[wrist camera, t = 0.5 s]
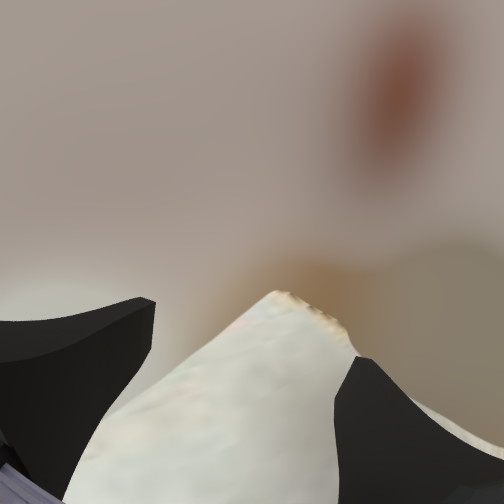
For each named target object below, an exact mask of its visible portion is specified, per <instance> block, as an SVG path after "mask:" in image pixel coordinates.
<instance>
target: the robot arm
mask: <svg viewBox="0 0 504 504" xmlns="http://www.w3.org/2000/svg"><path fill="white" fill-rule="evenodd" d="M155 305H156V302H154V301H151V300H148V299H145V298H143V297H138V298H133V299H129V300H126V301H123V302H119V303H116V304H113V305H110V306H106V307H103V308H100V309H96V310H92V311H88V312H84V313H80V314H76V315H73V316H67V317H61V318H55V319H47V320H36V321H0V504H65V503H64V502H62V500H63V497H64V495H65V492H66V490H67V487H68V485H69V482H70V480H71V477H72V475H73V473H74V471H75V468H76V466H77V464H78V462H79V460H80V458H81V456H82V454H83V452H84V450H85V448H86V446H87V444H88V442H89V440H90V439H91V437H92V435H93V433H94V431H95V430H96V428H97V426H98V425H99V423H100V421H101V419H102V418H103V416H104V415H105V413H106V412H107V410H108V409H109V407H110V406H111V405H112V404H113V402H114V401H115V400H116V399H117V397H118V396H119V395H120V394H121V392H122V391H123V390H124V388H125V387H126V386H127V385H128V383H129V382H130V381H131V379H132V378H133V377H134V376H135V374H136V373H137V372H138V370H139V369H140V367H141V366H142V364H143V362H144V361H145V359H146V357H147V355H148V353H149V351H150V350H151V345H152V334H153V323H154V314H155ZM334 427H335V437H336V446H337V455H338V465H339V500H338V504H504V460H502V459H500V458H497V457H494V456H491V455H489V454H487V453H485V452H483V451H481V450H479V449H476V448H474V447H473V446H471V445H469V444H467V443H465V442H464V441H462V440H461V439H459V438H457V437H456V436H454V435H453V434H451V433H450V432H448V431H447V430H445V429H444V428H443V427H441V426H440V425H439V424H438V423H436V422H435V421H434V420H433V419H431V418H430V417H429V416H428V415H427V414H425V413H424V412H423V411H422V410H421V409H420V408H419V407H418V406H417V405H416V404H415V403H414V402H413V401H412V400H411V399H410V398H409V397H408V396H407V395H406V394H405V393H404V392H403V391H402V390H401V389H400V388H399V387H398V386H397V385H396V384H395V383H394V382H393V381H392V380H391V378H390V377H389V376H388V375H387V374H386V373H385V372H384V371H383V370H382V369H381V368H380V367H379V366H378V365H377V364H376V363H375V362H374V361H373V360H372V359H368V358H363V357H358V356H356V357H355V359H354V361H353V363H352V365H351V367H350V369H349V371H348V373H347V375H346V377H345V379H344V381H343V383H342V385H341V387H340V389H339V391H338V393H337V395H336V397H335V402H334Z"/></svg>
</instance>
